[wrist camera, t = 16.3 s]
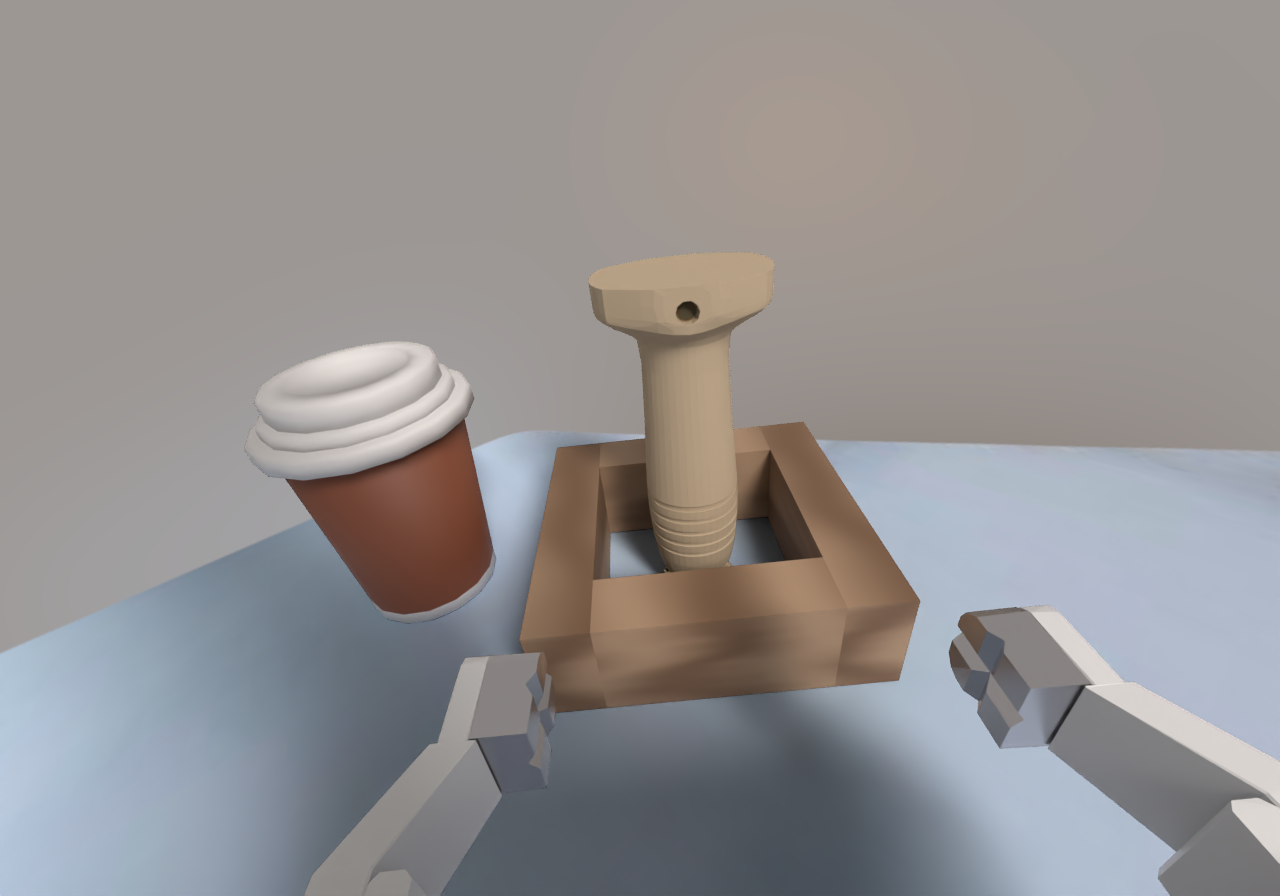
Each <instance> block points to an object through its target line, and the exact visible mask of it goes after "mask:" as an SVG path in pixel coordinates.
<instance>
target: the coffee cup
mask: <svg viewBox="0 0 1280 896" xmlns="http://www.w3.org/2000/svg"><path fill="white" fill-rule="evenodd" d="M473 401H474V396H473V393H472V390H471V387H470V385H469V384H468V382H467V380H466V379H465V378H464V376H463V375H462V373H461V372H458V371H455V370H451V369H448V368H447V367H446V366H445V365H442V364H439V363H438V361H437V358H436V356H435V354H434V353H433V351H432V349H431V348H429V347H427V346H425V345H421V344H417V343H414V342H383V343H376V344H368V345H361V346H357V347H352V348H348V349H343V350H340V351H335V352H331V353H328V354H325V355H322V356H319V357H316V358H313V359H310V360H307V361H304V362H301V363H299V364H297V365H295V366H293V367H291V368H289V369H287V370H285V371H283V372H280V373H278V374H276V375H275V376H274V377H272V378H271V379H270V380H269V381H267V382H266V383H265V384H264V385H262V386H261V387H260V388H259V390H258V392H257V396H256V398H255V402H254V404H255V406H256V408H257V410H258V411H259V413H260V414H259V417H258V421H257V424H255V425H254V426H253V427H252V428H251V429H250V431H249V434H248V438H247V441H246V444H245V451H246V453H247V455H248V456H249V458H250V460H251V462H252V463H253V464H254V465H255V466H256V467H258V468H259V469H260V470H261V471H262V472H263V473H265V474H266V475H267V476H268V477H277V478H285V479H286V480H287V482H288V483H289V485H290V486H291V487H292V489H293V490H294V492H295V493H296V495H297V496H298V497H299V499H300V500H301V502H302V503H303V504H304V506H305V507H306V509H307V510H308V512H309V513H310V514H311V516H312V517H313V519H314V520H315V521H316V523H317V524H318V526H319V527H320V529H321V530H322V531H323V533H324V534H325V536H326V537H327V538H328V540H329V541H330V543H331V544H332V546H333V547H334V548H335V550H336V551H337V553H338V554H339V555H340V557H341V558H342V560H343V561H344V562H345V564H346V565H347V567H348V568H349V570H350V571H351V572H352V574H353V575H354V577H355V578H356V579H357V581H358V582H359V584H360V585H361V587H362V588H363V589H364V591H365V592H366V594H367V595H368V596H369V598H370V599H371V601H372V603H373V605H374V607H375V608H376V609H377V610H378V611H379V612H380V613H381V614H382V615H383V616H384V617H385V618H386V619H388V620H393V621H398V622H403V623H408V624H409V623H415V622H422V621H428V620H434V619H437V618H439V617H441V616H443V615H446V614H448V613H450V612H453V611H455V610H457V609H459V608H461V607H462V606H463V605H465V604H466V603H467V602H469V601H470V600H471V599H472V598H474V597H475V596H476V595H478V594H479V593H480V592H481V591H482V589H483V588H484V587H485V585H486V584H487V582H488V581H489V579H490V578H491V577H492V575H493V572H494V567H495V562H496V556H495V553H494V550H493V546H492V542H491V537H490V532H489V528H488V523H487V519H486V514H485V510H484V505H483V501H482V496H481V492H480V487H479V483H478V478H477V474H476V469H475V465H474V460H473V455H472V451H471V447H470V442H469V438H468V433H467V429H466V424H465V419H464V418H466V417H467V415H468V413H469V410H470V408H471V405H472V403H473Z"/></svg>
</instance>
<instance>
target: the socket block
mask: <svg viewBox="0 0 1280 896" xmlns="http://www.w3.org/2000/svg"><path fill="white" fill-rule="evenodd" d="M733 432H734V445H735V457H736V469H737V489H738V493H737V497H738V504H737V519H736V520H739V519H749V518H759V517H768V519H769V521H770V524H771V526H772V529H773V531H774V534H775V536H776V539H777V541H778V544H779V547H780V549H781V552H782V554H783V557H784V559H785V561H780V562H770V563H760V564H750V565H740V566H730V567H719V568H709V569H699V570H689V571H679V572H669V573H659V574H649V575H639V576H629V577H619V578H610V533H611V532H621V531H631V530H641V529H650V528H653V525H652V520H651V514H650V508H649V499H648V490H647V488H648V487H647V472H646V442H645V439H636V440H626V441H617V442H607V443H598V444H588V445H579V446H569V447H560V448H557V451H556V456H555V461H554V466H553V472H552V477H551V482H550V487H549V492H548V497H547V502H546V507H545V512H544V517H543V522H542V527H541V532H540V537H539V543H538V548H537V553H536V558H535V563H534V568H533V573H532V578H531V583H530V588H529V593H528V598H527V603H526V608H525V614H524V619H523V624H522V629H521V634H520V639H519V641H520V643H521V646H522V649H523V652H524V653H537V652H544V654H545V657H546V660H547V670H546V673H547V674H548V675H550V676H551V677H552V680H553V683H554V689H555V713H558V712H568V711H579V710H590V709H600V708H611V707H621V706H632V705H643V704H653V703H664V702H674V701H685V700H696V699H706V698H717V697H727V696H738V695H749V694H759V693H770V692H780V691H791V690H802V689H812V688H823V687H833V686H844V685H855V684H865V683H876V682H886V681H897V680H899V678H900V674H901V670H902V667H903V663H904V659H905V656H906V652H907V648H908V644H909V641H910V637H911V633H912V630H913V626H914V622H915V618H916V615H917V611H918V607H919V604H920V600H919V598H918V597H917V595H916V594H915V592H914V590H913V589H912V587H911V586H910V584H909V583H908V581H907V580H906V578H905V577H904V575H903V574H902V572H901V571H900V569H899V568H898V566H897V564H896V563H895V561H894V560H893V558H892V557H891V555H890V554H889V552H888V551H887V549H886V548H885V546H884V545H883V543H882V541H881V540H880V538H879V537H878V535H877V534H876V532H875V531H874V529H873V528H872V526H871V525H870V523H869V522H868V520H867V519H866V517H865V515H864V514H863V512H862V511H861V509H860V508H859V506H858V505H857V503H856V502H855V500H854V499H853V497H852V496H851V494H850V492H849V491H848V489H847V488H846V486H845V485H844V483H843V482H842V480H841V479H840V477H839V476H838V474H837V473H836V471H835V470H834V468H833V466H832V465H831V463H830V462H829V460H828V459H827V457H826V456H825V454H824V453H823V451H822V450H821V448H820V447H819V445H818V444H817V442H816V440H815V439H814V437H813V436H812V434H811V433H810V432H809V430H808V428H807V427H806V426H805V424H804V422H797V423H787V424H778V425H769V426H759V427H750V428H740V429H733Z"/></svg>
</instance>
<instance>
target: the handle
mask: <svg viewBox="0 0 1280 896" xmlns="http://www.w3.org/2000/svg"><path fill="white" fill-rule="evenodd" d="M588 280H589V288H590V295H591V301H592V307H593V311H594V314H595V317H596V318H597V319H598V320H599V321H600V322H602V323H603V324H605V325H607V326H609V327H611V328H612V329H614V330H617V331H620V332H623V333H625V334H628V335H630V336H632V337H634V338H635V339H636V340H637V343H638V348H639V352H640V358H641V363H642V380H643V398H644V416H645V442H646V472H647V487H648V488H647V490H648V499H649V508H650V514H651V520H652V525H653V530H654V534H655V538H656V542H657V546H658V549H659V552H660V555H661V557H662V559H663V561H664V563H665V569H664V573H669V572H679V571H689V570H699V569H709V568H719V567H730V566H731V563H729V561H728V560H729V559H730V556H731V552H732V548H733V544H734V537H735V530H736V519H737V504H738V497H737V493H738V489H737V469H736V457H735V445H734V432H733V420H732V406H731V389H730V371H729V347H730V335H731V332H732V330H733V329H734V328H735V327H736V326H738V325H739V324H741V323H743V322H744V321H746V320H748V319H749V318H751V317H753V316H755V315H756V314H758V313H759V312H761V311H762V310H763V309H764V308H765V307H766V306H768V305H769V304H770V302H771V301H772V296H773V283H774V262H773V260H772V259H770V258H769V257H767V256H764V255H761V254H756V253H749V252H724V253H723V252H722V253H698V254H686V255H677V256H669V257H659V258H651V259H645V260H639V261H635V262H629V263H624V264H620V265H615V266H611V267H606V268H603V269H601V270H598V271H597V272H595V273H593V274H592V275H591V276H590V278H589V279H588Z"/></svg>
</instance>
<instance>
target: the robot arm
mask: <svg viewBox="0 0 1280 896" xmlns="http://www.w3.org/2000/svg"><path fill="white" fill-rule="evenodd" d="M958 627H959V628H960V630H961V631H962V633H961V634H960V635H958V636H957V637H956V638H955V639H953V640H952V643H951V646H950V650H949V656H950V663H951V668H952V670H953V673H954V675H955V678H956V679H957V681H958V683H959V684H960V686H961V688H962V689H963V691H965V692H966V693H968V694H969V695H971V696H972V697H973V698H975V699H976V700H978V711H977V713H978V715H979V717H980V718H981V720H982V721H983V723H984V725H985V726H986V728H987V729H988V731H989V732H990V734H991V736H992V737H993V739H994V740H995V742H996V744H997V745H998V747H999V748H1000V749H1004V748H1021V747H1038V746H1049V747H1048V749H1049V750H1050V751H1051V752H1053V753H1054V754H1055V755H1056V756H1058V757H1059V758H1060V759H1061V760H1063V761H1064V762H1065V763H1066V764H1068V765H1069V766H1070V767H1071V768H1073V769H1074V770H1075V771H1076V772H1078V773H1079V774H1080V775H1081V776H1083V777H1084V778H1085V779H1086V780H1088V781H1089V782H1090V783H1091V784H1093V785H1094V786H1095V787H1096V788H1098V789H1099V790H1100V791H1101V792H1103V793H1104V794H1105V795H1106V796H1108V797H1109V798H1110V799H1111V800H1113V801H1114V802H1115V803H1116V804H1118V805H1119V806H1120V807H1121V808H1123V809H1124V810H1125V811H1126V812H1128V813H1129V814H1130V815H1131V816H1133V817H1134V818H1135V819H1136V820H1138V821H1139V822H1140V823H1141V824H1143V825H1144V826H1145V827H1146V828H1148V829H1149V830H1150V831H1151V832H1153V833H1154V834H1155V835H1156V836H1158V837H1159V838H1160V839H1161V840H1162V841H1164V842H1165V843H1166V844H1167V845H1169V846H1170V847H1171V848H1172V849H1174V850H1175V851H1176V853H1175V854H1174V855H1173V856H1172V857H1171V858H1170V859H1169V860H1168V861H1166V862H1165V863H1164V864H1163V865H1162V866H1161V867H1160V868H1159V873H1158V879H1159V881H1160V882H1161V883H1162V885H1163V886H1164V887H1165V889H1166V890H1167V892H1168V893H1169V894H1170V896H1280V762H1279V761H1278V760H1276V759H1274V758H1272V757H1270V756H1268V755H1267V754H1265V753H1263V752H1261V751H1259V750H1257V749H1256V748H1254V747H1252V746H1250V745H1248V744H1246V743H1245V742H1243V741H1241V740H1239V739H1237V738H1235V737H1234V736H1232V735H1230V734H1228V733H1226V732H1225V731H1223V730H1221V729H1219V728H1217V727H1215V726H1214V725H1212V724H1210V723H1208V722H1206V721H1204V720H1203V719H1201V718H1199V717H1197V716H1195V715H1193V714H1192V713H1190V712H1188V711H1186V710H1184V709H1182V708H1181V707H1179V706H1177V705H1175V704H1173V703H1171V702H1170V701H1168V700H1166V699H1164V698H1162V697H1160V696H1159V695H1157V694H1155V693H1153V692H1151V691H1149V690H1148V689H1146V688H1144V687H1142V686H1140V685H1138V684H1137V683H1135V682H1124V681H1123V680H1122V679H1121V678H1120V677H1119V676H1118V675H1117V674H1116V672H1115V671H1114V670H1113V669H1112V668H1111V667H1110V666H1109V665H1108V664H1107V663H1106V662H1105V661H1104V660H1103V659H1102V657H1101V656H1100V655H1099V654H1098V653H1097V652H1096V651H1095V650H1094V649H1093V648H1092V647H1091V646H1090V645H1089V644H1088V643H1087V641H1086V640H1085V639H1084V638H1083V637H1082V636H1081V635H1080V634H1079V633H1078V632H1077V631H1076V630H1075V629H1074V628H1073V626H1072V625H1071V624H1070V623H1069V622H1068V621H1067V620H1066V619H1065V618H1064V617H1063V616H1062V615H1061V614H1060V613H1059V612H1058V611H1057V610H1056V609H1054V608H1053V607H1051V606H1049V605H1039V606H1030V607H1021V608H1017V607H1012V608H1003V609H994V610H984V611H975V612H967V613H965V614H964V615H962V616H961V617H960V620H959V623H958ZM546 670H547V660H546V657H545V654H544V652H537V653H522V654H508V655H493V656H492V655H491V656H480V657H468V658H465V660H464V661H463V663H462V665H461V666H460V669H459V672H458V675H457V679H456V682H455V685H454V689H453V692H452V695H451V699H450V702H449V705H448V709H447V712H446V715H445V719H444V722H443V725H442V729H441V732H440V735H439V739H438V742H437V743H433V744H429V745H428V746H427V747H426V748H425V749H424V750H423V751H422V753H421V754H420V755H419V756H418V757H417V758H416V759H415V760H414V762H413V763H412V764H411V765H410V766H409V767H408V768H407V769H406V770H405V772H404V773H403V774H402V775H401V776H400V777H399V778H398V779H397V781H396V782H395V783H394V784H393V785H392V786H391V787H390V788H389V789H388V791H387V792H386V793H385V794H384V795H383V796H382V797H381V798H380V799H379V801H378V802H377V803H376V804H375V805H374V806H373V807H372V808H371V810H370V811H369V812H368V813H367V814H366V815H365V816H364V817H363V818H362V820H361V821H360V822H359V823H358V824H357V825H356V826H355V827H354V829H353V830H352V831H351V832H350V833H349V834H348V835H347V836H346V837H345V839H344V840H343V841H342V842H341V843H340V844H339V845H338V846H337V847H336V849H335V850H334V851H333V852H332V853H331V854H330V855H329V856H328V858H327V859H326V860H325V861H324V862H323V863H322V864H321V865H320V866H319V868H318V869H317V870H316V871H315V872H314V873H313V874H312V877H311V879H310V882H309V884H308V886H307V889H306V891H305V894H304V896H440V895H441V893H442V892H443V890H444V888H445V887H446V885H447V884H448V882H449V881H450V879H451V877H452V876H453V874H454V873H455V871H456V869H457V868H458V866H459V865H460V863H461V861H462V860H463V858H464V857H465V855H466V853H467V852H468V850H469V849H470V847H471V845H472V844H473V842H474V841H475V839H476V837H477V836H478V834H479V833H480V831H481V829H482V828H483V826H484V825H485V823H486V821H487V820H488V818H489V817H490V815H491V813H492V812H493V810H494V809H495V807H496V805H497V804H498V802H499V801H500V799H501V797H502V794H501V793H507V792H516V791H524V790H533V789H542V788H547V784H548V775H549V767H550V758H551V748H550V745H549V742H548V739H547V735H548V734H549V733H550V731H551V730H552V729H553V727H554V721H555V689H554V683H553V680H552V677H551V676H550V675H548V674H547V673H546Z"/></svg>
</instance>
